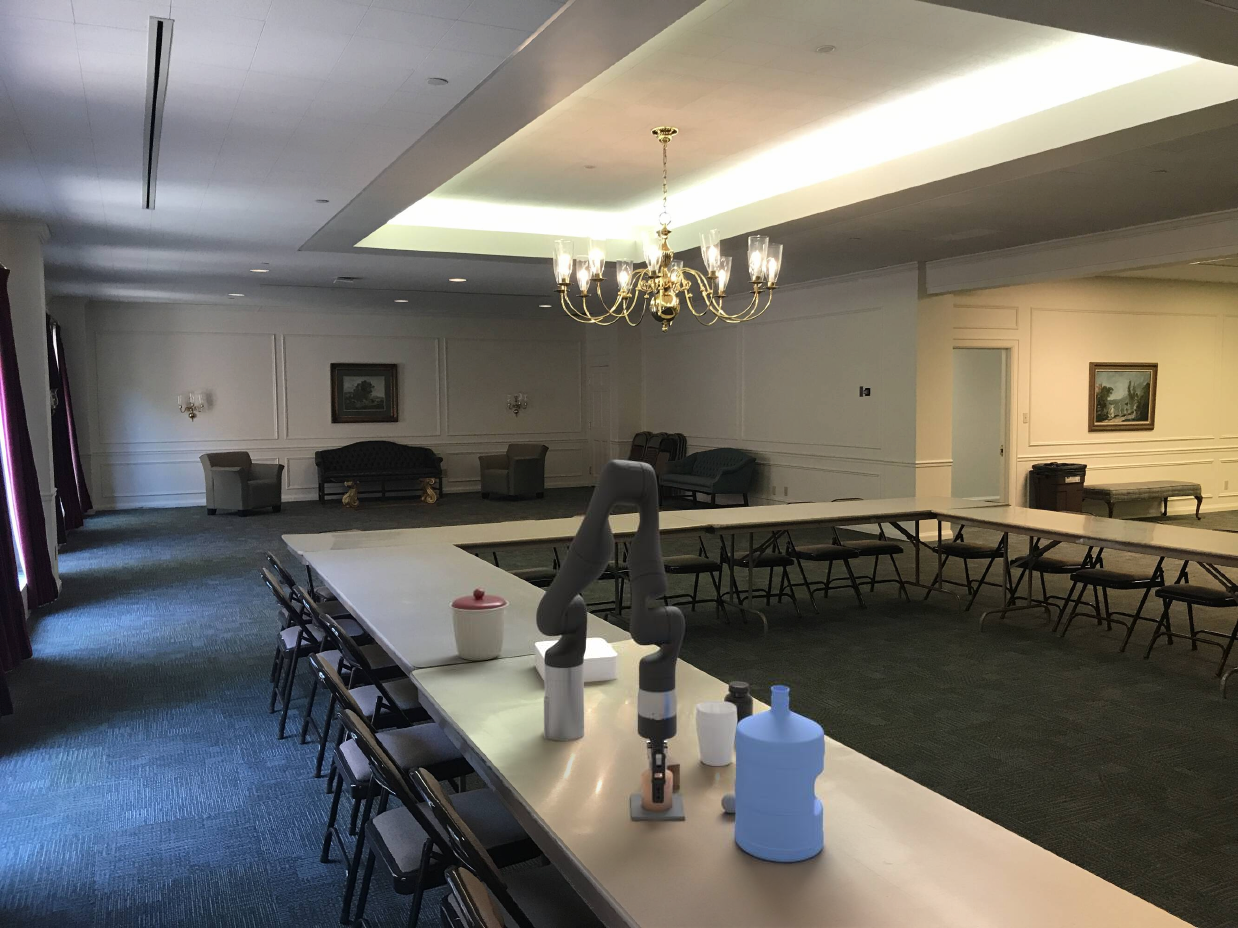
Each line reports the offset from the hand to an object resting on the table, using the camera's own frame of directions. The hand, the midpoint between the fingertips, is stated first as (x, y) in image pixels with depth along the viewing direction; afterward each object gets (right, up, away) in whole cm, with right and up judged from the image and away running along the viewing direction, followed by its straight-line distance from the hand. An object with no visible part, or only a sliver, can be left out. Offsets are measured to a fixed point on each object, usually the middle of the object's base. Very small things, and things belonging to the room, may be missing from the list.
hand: (657, 793), depth 176 cm
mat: (0, -3, 0) cm, 3 cm away
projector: (-20, +3, +89) cm, 92 cm away
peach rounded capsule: (0, -2, 0) cm, 2 cm away
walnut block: (+2, -2, +11) cm, 12 cm away
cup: (+14, -1, +23) cm, 27 cm away
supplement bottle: (+21, 0, +39) cm, 44 cm away
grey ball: (+14, -3, -2) cm, 14 cm away
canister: (-50, +4, +105) cm, 117 cm away
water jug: (+21, -4, -14) cm, 25 cm away
